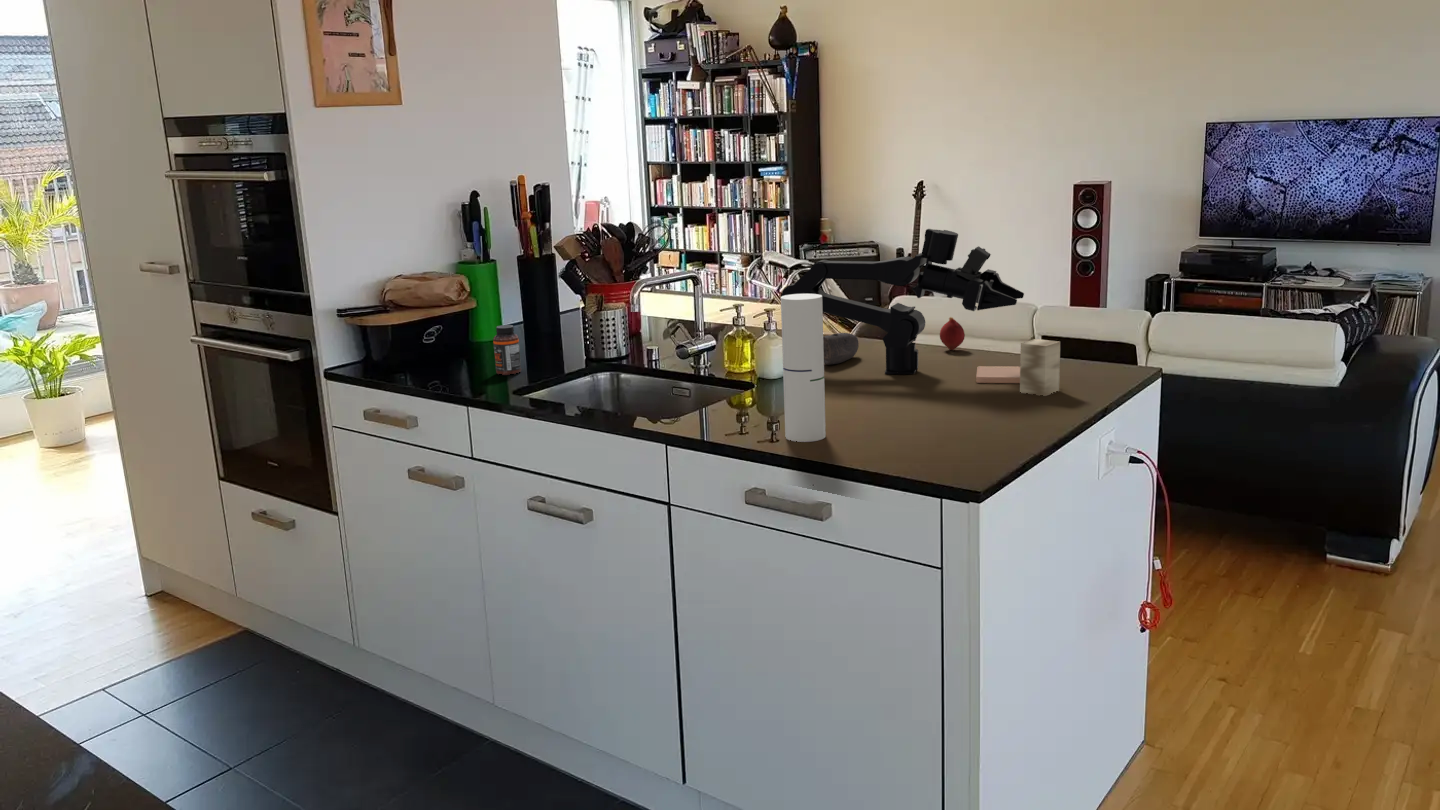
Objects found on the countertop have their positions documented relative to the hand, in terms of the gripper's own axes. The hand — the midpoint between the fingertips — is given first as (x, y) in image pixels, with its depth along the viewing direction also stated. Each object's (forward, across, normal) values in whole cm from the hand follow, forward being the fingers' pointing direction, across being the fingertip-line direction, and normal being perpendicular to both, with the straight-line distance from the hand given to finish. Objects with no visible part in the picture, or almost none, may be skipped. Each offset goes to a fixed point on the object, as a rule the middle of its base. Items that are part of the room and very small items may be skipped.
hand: (1020, 298), depth 234 cm
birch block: (+10, -13, +15) cm, 22 cm away
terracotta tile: (+1, -1, +17) cm, 17 cm away
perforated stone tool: (-37, +8, +26) cm, 46 cm away
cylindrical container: (-24, -56, +23) cm, 65 cm away
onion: (-16, +26, +21) cm, 37 cm away
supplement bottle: (-109, -19, +42) cm, 118 cm away
